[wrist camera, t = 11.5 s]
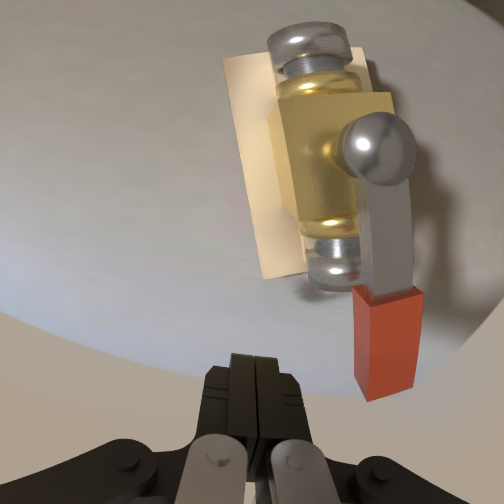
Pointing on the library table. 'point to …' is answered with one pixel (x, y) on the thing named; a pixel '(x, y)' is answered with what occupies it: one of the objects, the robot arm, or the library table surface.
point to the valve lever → (383, 253)
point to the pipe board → (269, 159)
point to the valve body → (319, 145)
